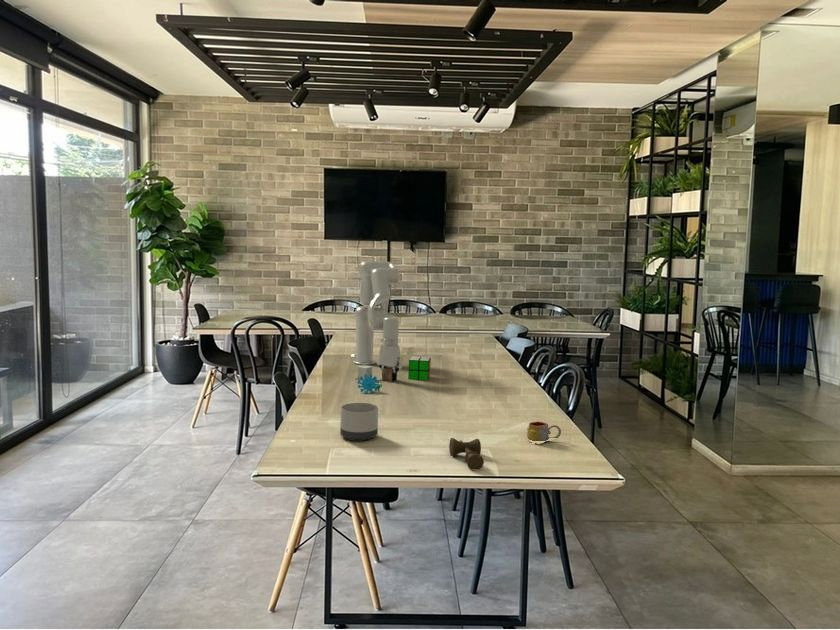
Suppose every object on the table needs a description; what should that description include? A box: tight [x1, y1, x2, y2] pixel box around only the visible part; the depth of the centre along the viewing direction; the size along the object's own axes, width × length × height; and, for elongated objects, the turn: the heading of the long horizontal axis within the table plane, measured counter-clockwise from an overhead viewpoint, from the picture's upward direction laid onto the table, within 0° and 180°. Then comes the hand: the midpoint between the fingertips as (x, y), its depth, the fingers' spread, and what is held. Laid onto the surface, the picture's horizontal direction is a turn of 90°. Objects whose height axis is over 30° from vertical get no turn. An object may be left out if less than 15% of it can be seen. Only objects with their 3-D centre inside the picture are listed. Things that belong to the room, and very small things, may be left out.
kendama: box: [448, 437, 485, 470], centre depth 201 cm, size 6×10×20 cm
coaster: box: [378, 378, 401, 384], centre depth 309 cm, size 8×8×1 cm
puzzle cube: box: [407, 356, 432, 381], centre depth 317 cm, size 10×10×10 cm
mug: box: [526, 421, 562, 441], centre depth 221 cm, size 12×7×7 cm, turn 96°
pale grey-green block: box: [357, 365, 373, 380], centre depth 310 cm, size 5×5×6 cm
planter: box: [339, 402, 379, 441], centre depth 219 cm, size 13×13×10 cm
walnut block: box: [381, 366, 393, 383], centre depth 309 cm, size 5×5×6 cm
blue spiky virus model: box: [356, 373, 383, 395], centre depth 286 cm, size 11×6×10 cm
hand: (389, 379), depth 309 cm, fingers closed on walnut block, 5 cm apart
